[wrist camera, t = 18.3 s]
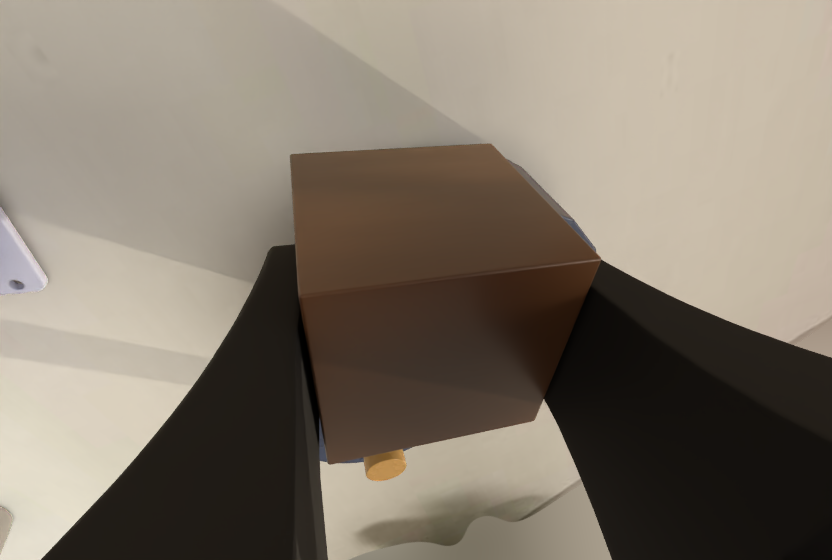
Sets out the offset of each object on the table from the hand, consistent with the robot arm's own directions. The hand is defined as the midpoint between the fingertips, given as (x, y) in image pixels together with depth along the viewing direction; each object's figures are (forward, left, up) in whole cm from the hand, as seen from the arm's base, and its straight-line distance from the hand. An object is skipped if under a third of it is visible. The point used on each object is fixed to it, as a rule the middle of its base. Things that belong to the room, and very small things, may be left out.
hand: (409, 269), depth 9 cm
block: (0, 0, -1) cm, 1 cm away
